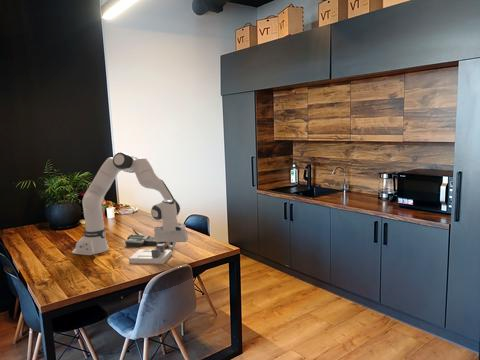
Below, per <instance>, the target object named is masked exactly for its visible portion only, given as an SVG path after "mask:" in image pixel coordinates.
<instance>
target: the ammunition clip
mask: <svg viewBox="0 0 480 360" xmlns="http://www.w3.org/2000/svg"><path fill="white" fill-rule="evenodd" d="M158 244H165V250H167V249H169V246H168V244H167V242H157V245H158ZM170 244H171V245H173V242H170ZM157 245H156V246H157Z"/></svg>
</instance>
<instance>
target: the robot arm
mask: <svg viewBox="0 0 480 360" xmlns="http://www.w3.org/2000/svg"><path fill="white" fill-rule="evenodd" d="M121 171H123V172H124V173H131V174H133V173H134V174H135V176H136V178H137V181H138V183H139V184H140V185H141V186H142V187H143V188H146V189H151V190H155V191H157V192H159V193H160V194H161V197H162V198H163V200H162V201H161V202H159V203H156V204H154V205H152V207H151V209H150V210H151V211H150V213H151V214H150V215H151V216H152V218H153V219H154V220H156V221H157V220H162V226H161V225H160V226H155V227H154V229H153V231H154V236H153V237H154V239H155V241H156V242H167V244H168V246H169V248H168V250H174V249H175V245H176V244H177V243H186V242H188V240H189V234H188V230H187V229H186V226H187V225H186V224H184V223H181V222H178V215H179V214H180V211H181V206H180V204H179V202H178V201H177V200H176V199H175V198H174V196H173V194H172V193H171V190H170V189H169V187H168V186H167V185H166V183H165V181H164V180H163V179H161V178H160V177H158V176H157V174H156V173H155V171H154V169H153V167H152V164H151V163H150V162H149V160H148V159H147V158H146V157H138V158H137V157H135V156H134V155H131V154H129V153H127V152H117V153H116V154H114V155H113V157H111V156H110V157H107V158H106V160H105V161H104V162H103V164H102V165H101V166H100V167H99V169H98V171H97V173H96V174H95V176H94V178H93V180H92V181H91V183H90V185H89V186H88V187H87V190H86V191H85V193H84V194H83V197H82V201H81V202H82V203H81V204H82V210H83V218H84V224H85V230H84V231H83V232H82V235H83V236H82V237H81V238H80V239H79V240H77V241H76V244H75V248H74V249H73V250H72V252H71V253H72V254H74V255H83V256H92V255H96V254H101V253H104V252H107V251H108V250H110V247H109V244H108V243H107V242H108V241H107V237H106V234H107V233H106V228H105V223H104V213H103V205H102V201H103V199H104V197H105V196H106V194H107V192H108V191H109V190H110V188H111V187H112V184H113V183H114V180H115V179H116V177H117V175H118V174H119V173H120V172H121ZM170 242H173V245H171V244H170Z"/></svg>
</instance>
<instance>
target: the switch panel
mask: <svg viewBox="0 0 480 360" xmlns="http://www.w3.org/2000/svg"><path fill="white" fill-rule="evenodd" d="M152 249H153V248H152ZM152 249H145V248H144V249H143V248H140V249H138V250H137V251H136V252H134V253H133V254H131V256H130V257H129V258H128V262H129V264H157V265H159V264H160V265H164V264H165V262H167V261H168V260H169V258H171V256H172V255H173V249H165V251H164V252H160V253H161V255H160V256H159V257H152V252H151V250H152Z"/></svg>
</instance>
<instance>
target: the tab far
mask: <svg viewBox="0 0 480 360" xmlns="http://www.w3.org/2000/svg"><path fill="white" fill-rule="evenodd" d="M155 246H156V247H155V248H160V252H164V251H165V250H166V249H165V244H158V245H155Z"/></svg>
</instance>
